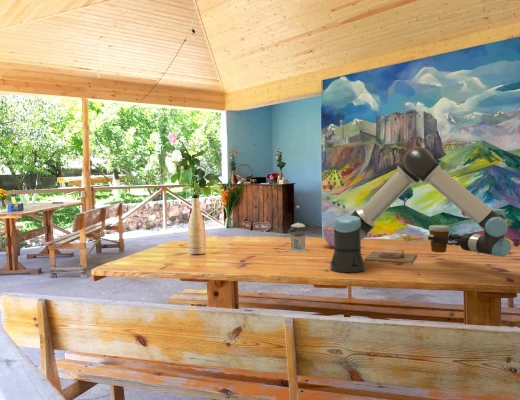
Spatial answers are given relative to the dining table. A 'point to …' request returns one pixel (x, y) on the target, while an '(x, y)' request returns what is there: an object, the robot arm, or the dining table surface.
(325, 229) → the bowl of food
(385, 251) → the pedestal
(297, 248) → the french press
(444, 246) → the disposable coffee cup
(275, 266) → the dining table surface
